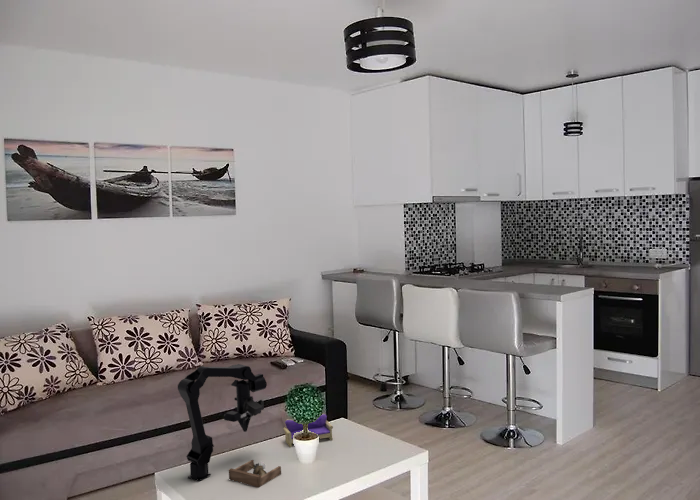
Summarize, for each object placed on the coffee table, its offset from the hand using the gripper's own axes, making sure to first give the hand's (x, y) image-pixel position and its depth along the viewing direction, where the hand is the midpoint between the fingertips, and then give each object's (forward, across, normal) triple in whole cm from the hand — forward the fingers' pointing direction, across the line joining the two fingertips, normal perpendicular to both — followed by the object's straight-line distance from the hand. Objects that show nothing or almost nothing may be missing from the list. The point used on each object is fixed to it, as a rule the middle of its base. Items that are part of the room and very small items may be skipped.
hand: (245, 431), depth 258 cm
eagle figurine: (+12, -12, -17) cm, 24 cm away
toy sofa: (+12, +29, -11) cm, 34 cm away
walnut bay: (+12, -12, -15) cm, 23 cm away
